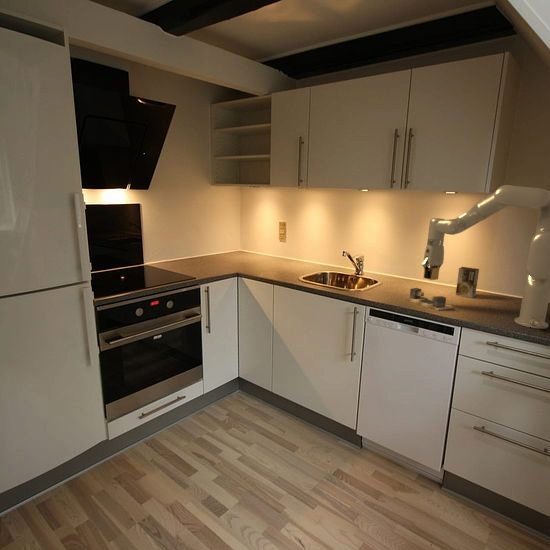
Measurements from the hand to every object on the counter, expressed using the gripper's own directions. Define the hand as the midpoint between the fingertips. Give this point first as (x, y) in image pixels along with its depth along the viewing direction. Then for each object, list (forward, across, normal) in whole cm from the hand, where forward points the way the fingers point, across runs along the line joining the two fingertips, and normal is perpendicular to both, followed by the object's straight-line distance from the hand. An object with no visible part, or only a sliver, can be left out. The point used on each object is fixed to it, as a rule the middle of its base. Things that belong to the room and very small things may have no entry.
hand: (430, 277), depth 190 cm
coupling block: (+1, 0, 0) cm, 1 cm away
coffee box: (+14, +35, +2) cm, 38 cm away
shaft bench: (+14, 0, 0) cm, 14 cm away
